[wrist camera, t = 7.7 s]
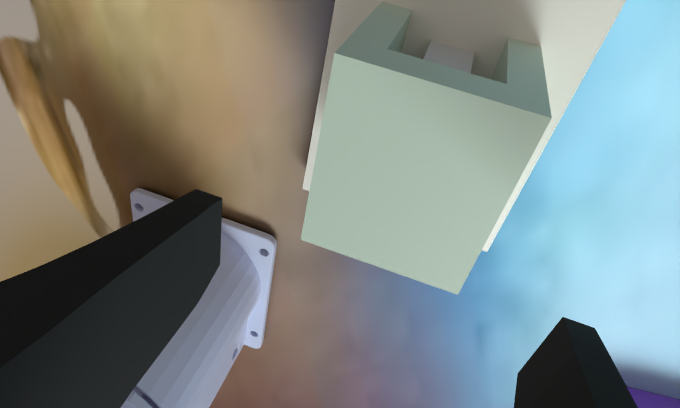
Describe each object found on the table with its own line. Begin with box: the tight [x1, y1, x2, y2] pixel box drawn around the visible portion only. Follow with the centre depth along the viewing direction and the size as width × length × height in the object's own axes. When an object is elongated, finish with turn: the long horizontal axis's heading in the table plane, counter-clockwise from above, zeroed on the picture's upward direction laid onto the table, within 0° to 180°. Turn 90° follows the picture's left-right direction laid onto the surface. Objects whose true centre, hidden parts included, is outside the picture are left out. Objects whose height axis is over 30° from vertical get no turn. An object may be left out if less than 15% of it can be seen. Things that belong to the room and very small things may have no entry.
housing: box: [301, 2, 552, 295], centre depth 14 cm, size 6×5×5 cm
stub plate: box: [303, 0, 626, 252], centre depth 16 cm, size 10×8×4 cm
